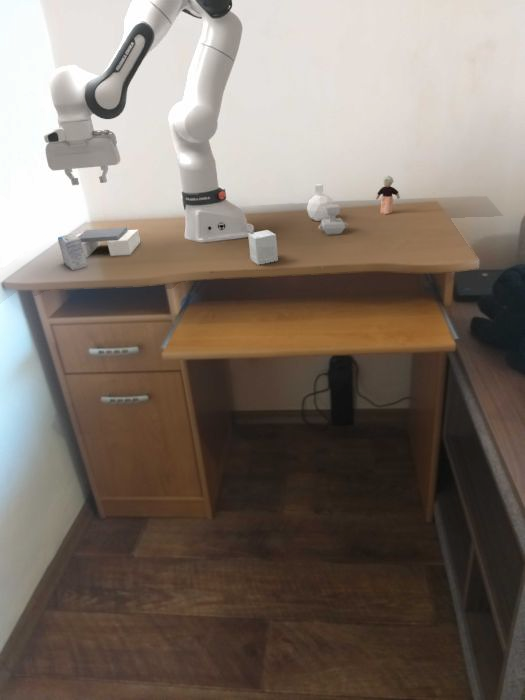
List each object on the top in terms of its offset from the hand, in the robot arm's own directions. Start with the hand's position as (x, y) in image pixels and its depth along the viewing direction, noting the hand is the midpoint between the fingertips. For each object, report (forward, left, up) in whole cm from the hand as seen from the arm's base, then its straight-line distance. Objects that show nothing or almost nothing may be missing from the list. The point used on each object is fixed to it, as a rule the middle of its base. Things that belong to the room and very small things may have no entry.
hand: (89, 183), depth 152 cm
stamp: (-70, -5, -21) cm, 73 cm away
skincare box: (-50, +16, -21) cm, 57 cm away
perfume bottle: (-67, -20, -21) cm, 73 cm away
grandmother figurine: (-89, -23, -21) cm, 94 cm away
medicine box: (+5, +12, -21) cm, 25 cm away
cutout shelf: (0, 0, -21) cm, 21 cm away
